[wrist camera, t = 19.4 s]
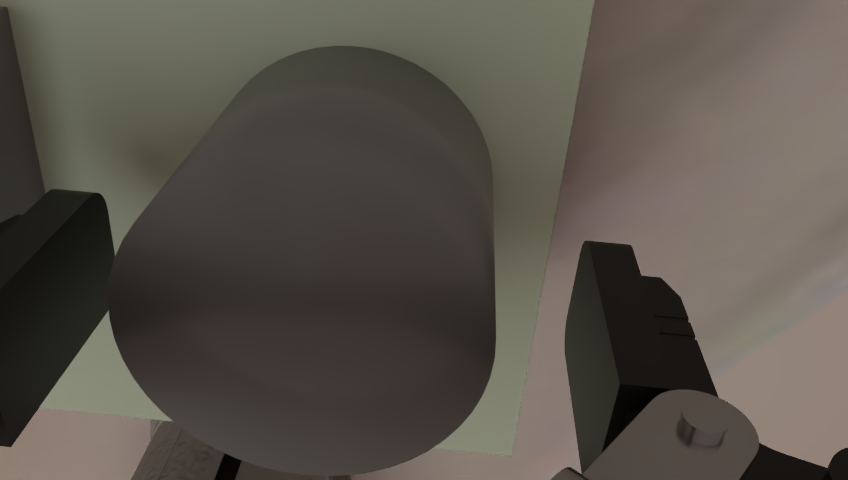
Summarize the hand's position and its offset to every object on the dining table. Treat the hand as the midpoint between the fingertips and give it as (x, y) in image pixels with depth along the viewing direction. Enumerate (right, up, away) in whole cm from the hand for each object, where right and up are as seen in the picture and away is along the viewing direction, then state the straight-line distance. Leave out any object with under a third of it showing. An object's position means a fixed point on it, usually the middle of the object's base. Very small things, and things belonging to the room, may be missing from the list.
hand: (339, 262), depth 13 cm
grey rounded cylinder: (0, +2, +2) cm, 3 cm away
